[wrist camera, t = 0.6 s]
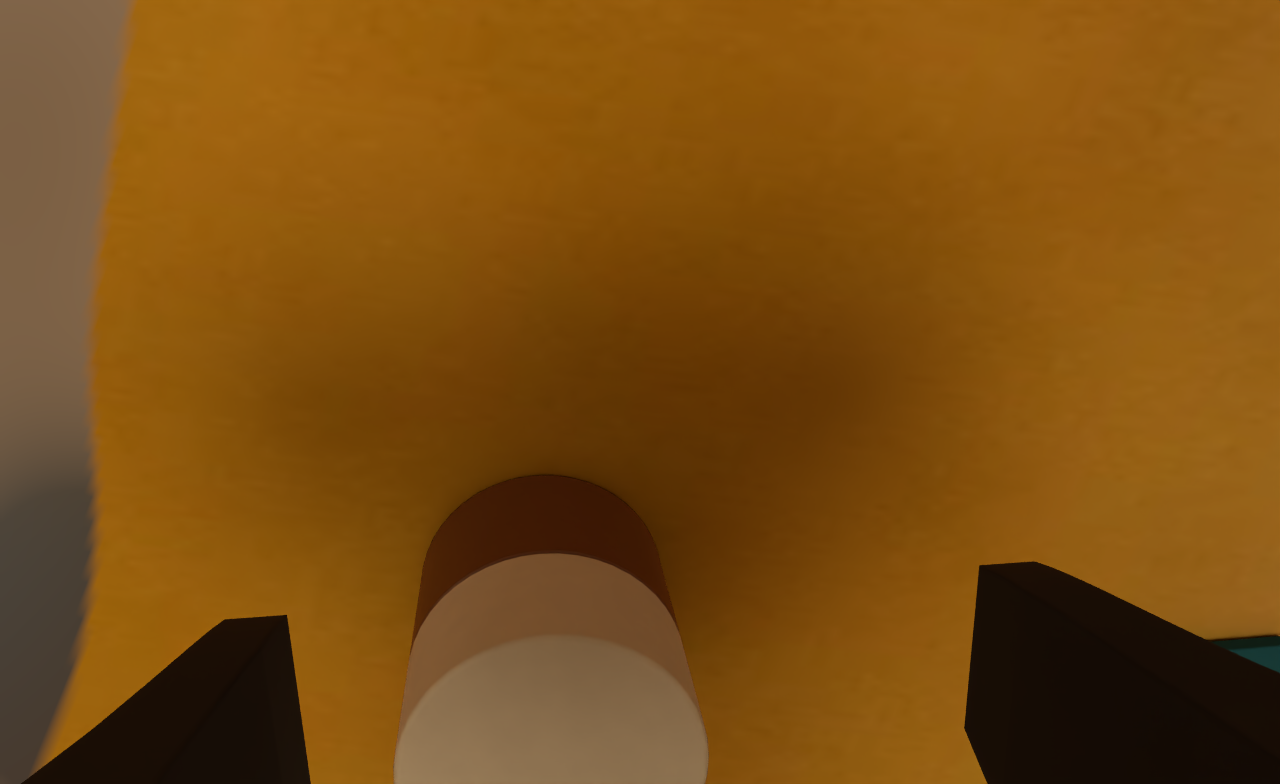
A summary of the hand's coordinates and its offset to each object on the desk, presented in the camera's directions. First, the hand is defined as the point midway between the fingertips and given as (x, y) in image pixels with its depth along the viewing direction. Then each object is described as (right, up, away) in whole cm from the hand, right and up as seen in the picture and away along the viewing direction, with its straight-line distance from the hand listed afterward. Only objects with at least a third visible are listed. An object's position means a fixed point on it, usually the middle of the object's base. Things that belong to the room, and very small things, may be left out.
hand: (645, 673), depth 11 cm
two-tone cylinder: (-2, -1, +9) cm, 10 cm away
